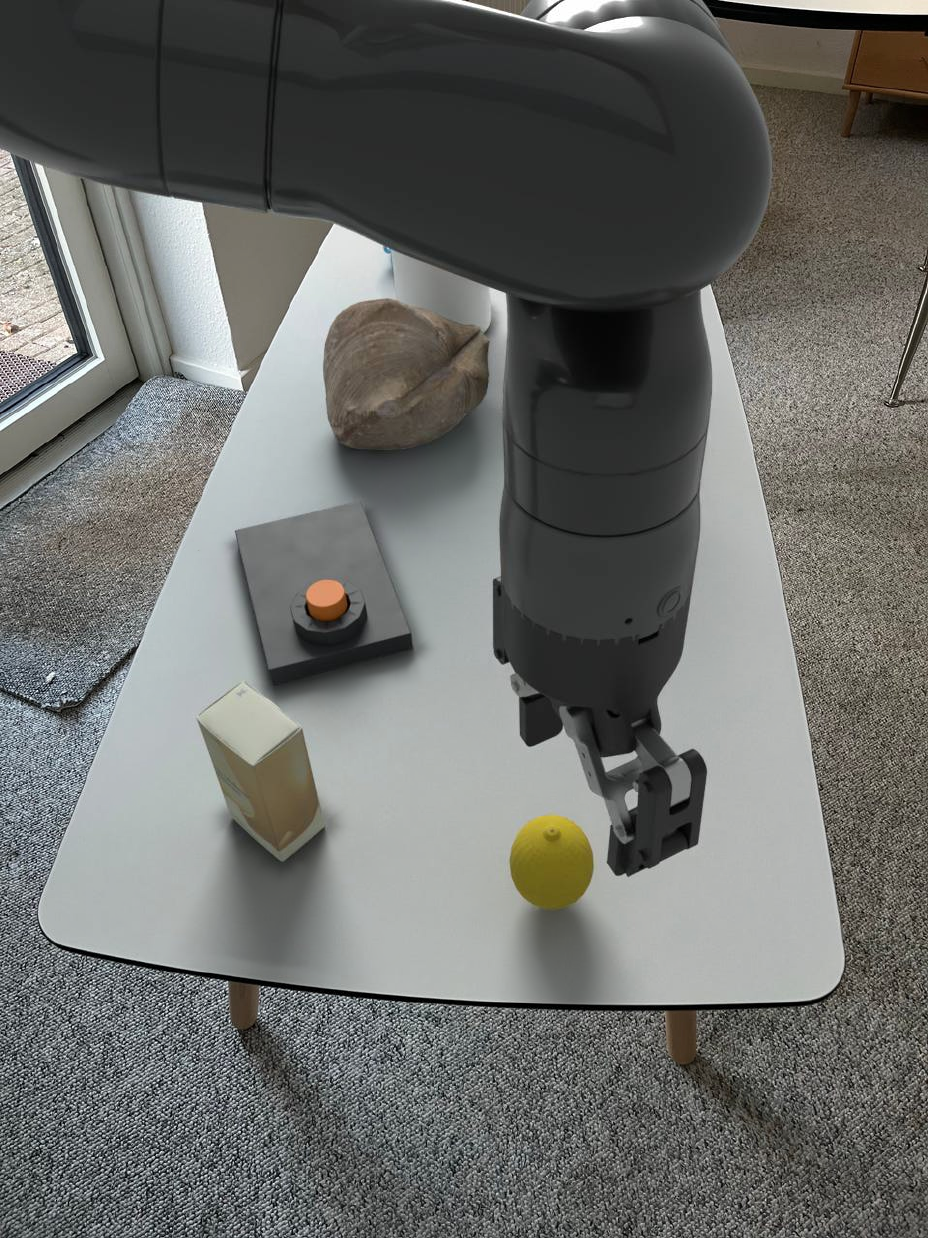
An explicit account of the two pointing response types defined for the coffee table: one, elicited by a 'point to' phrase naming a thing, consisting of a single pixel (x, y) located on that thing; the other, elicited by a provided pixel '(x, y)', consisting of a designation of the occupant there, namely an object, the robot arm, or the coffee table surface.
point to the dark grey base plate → (302, 556)
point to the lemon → (551, 862)
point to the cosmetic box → (262, 769)
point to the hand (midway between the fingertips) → (583, 797)
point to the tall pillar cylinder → (441, 292)
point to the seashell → (400, 374)
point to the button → (326, 600)
